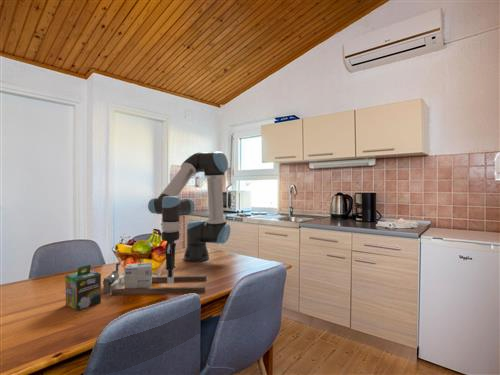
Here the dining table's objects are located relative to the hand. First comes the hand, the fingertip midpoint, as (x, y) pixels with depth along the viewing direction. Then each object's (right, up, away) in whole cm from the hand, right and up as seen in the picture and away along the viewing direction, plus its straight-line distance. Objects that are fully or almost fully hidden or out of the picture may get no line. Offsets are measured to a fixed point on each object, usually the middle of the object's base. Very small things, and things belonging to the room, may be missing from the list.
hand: (170, 283), depth 129 cm
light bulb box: (-13, -2, -4) cm, 14 cm away
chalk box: (-28, -2, -19) cm, 34 cm away
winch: (-25, -1, -1) cm, 25 cm away
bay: (-3, -1, 0) cm, 4 cm away
